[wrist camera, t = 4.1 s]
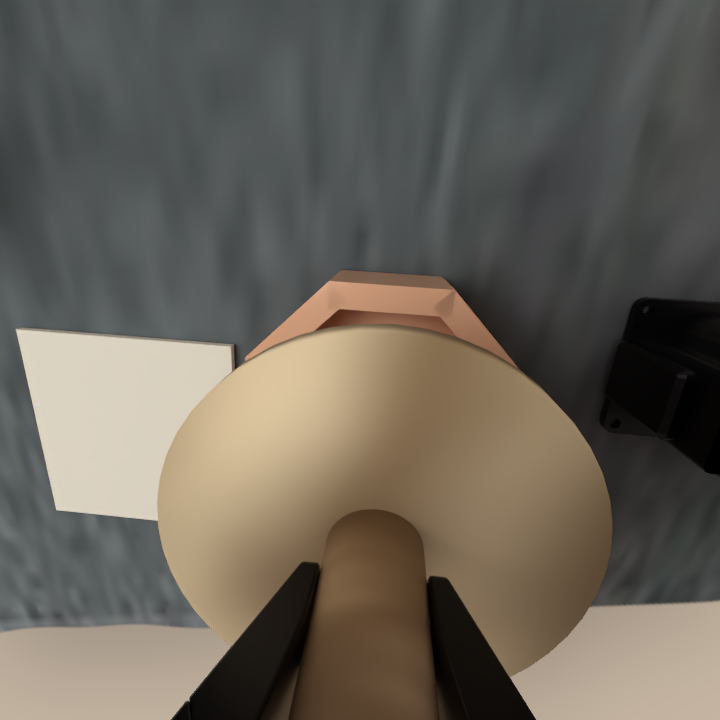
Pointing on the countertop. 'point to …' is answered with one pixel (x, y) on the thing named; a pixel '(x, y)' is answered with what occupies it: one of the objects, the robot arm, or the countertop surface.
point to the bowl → (386, 308)
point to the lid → (385, 508)
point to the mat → (114, 411)
